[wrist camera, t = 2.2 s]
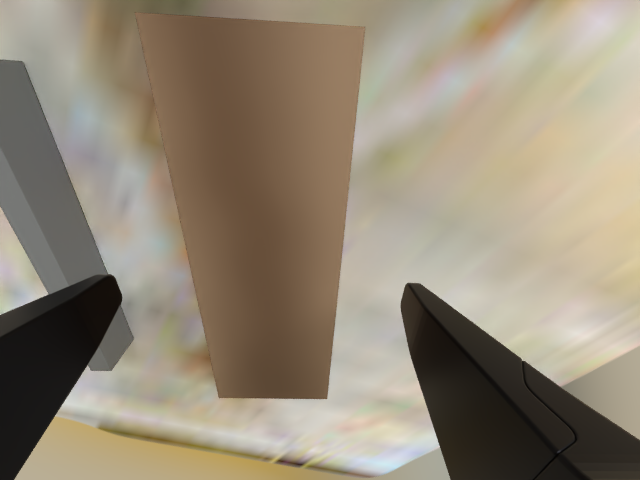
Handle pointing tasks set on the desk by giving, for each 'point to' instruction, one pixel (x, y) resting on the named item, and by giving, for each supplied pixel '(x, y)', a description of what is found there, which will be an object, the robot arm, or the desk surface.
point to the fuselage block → (259, 186)
